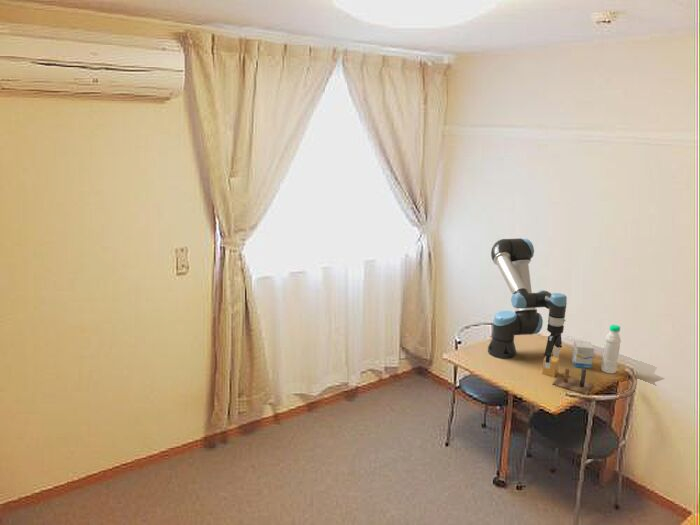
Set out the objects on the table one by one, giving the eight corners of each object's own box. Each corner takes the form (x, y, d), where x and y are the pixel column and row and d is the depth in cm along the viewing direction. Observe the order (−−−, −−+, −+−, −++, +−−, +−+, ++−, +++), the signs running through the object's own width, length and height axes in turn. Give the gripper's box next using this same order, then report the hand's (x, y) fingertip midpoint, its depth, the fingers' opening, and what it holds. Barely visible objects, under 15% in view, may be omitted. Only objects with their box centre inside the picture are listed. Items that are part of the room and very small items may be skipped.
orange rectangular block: (542, 373, 266) (543, 359, 264) (545, 369, 271) (547, 355, 269) (553, 377, 263) (555, 362, 261) (557, 372, 267) (559, 358, 265)
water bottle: (609, 375, 265) (616, 329, 259) (597, 369, 271) (604, 324, 265) (618, 372, 268) (626, 327, 262) (606, 366, 274) (613, 322, 268)
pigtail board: (552, 384, 255) (554, 366, 252) (559, 376, 264) (562, 358, 261) (586, 395, 245) (589, 376, 243) (593, 385, 254) (596, 367, 252)
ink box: (591, 369, 272) (594, 348, 269) (574, 367, 274) (577, 346, 271) (588, 361, 280) (590, 341, 277) (571, 360, 282) (574, 340, 279)
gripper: (555, 333, 248) (551, 373, 253) (570, 319, 267) (566, 357, 272) (540, 329, 252) (535, 369, 257) (555, 316, 271) (551, 353, 277)
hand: (551, 363), depth 265 cm, fingers open, 13 cm apart
